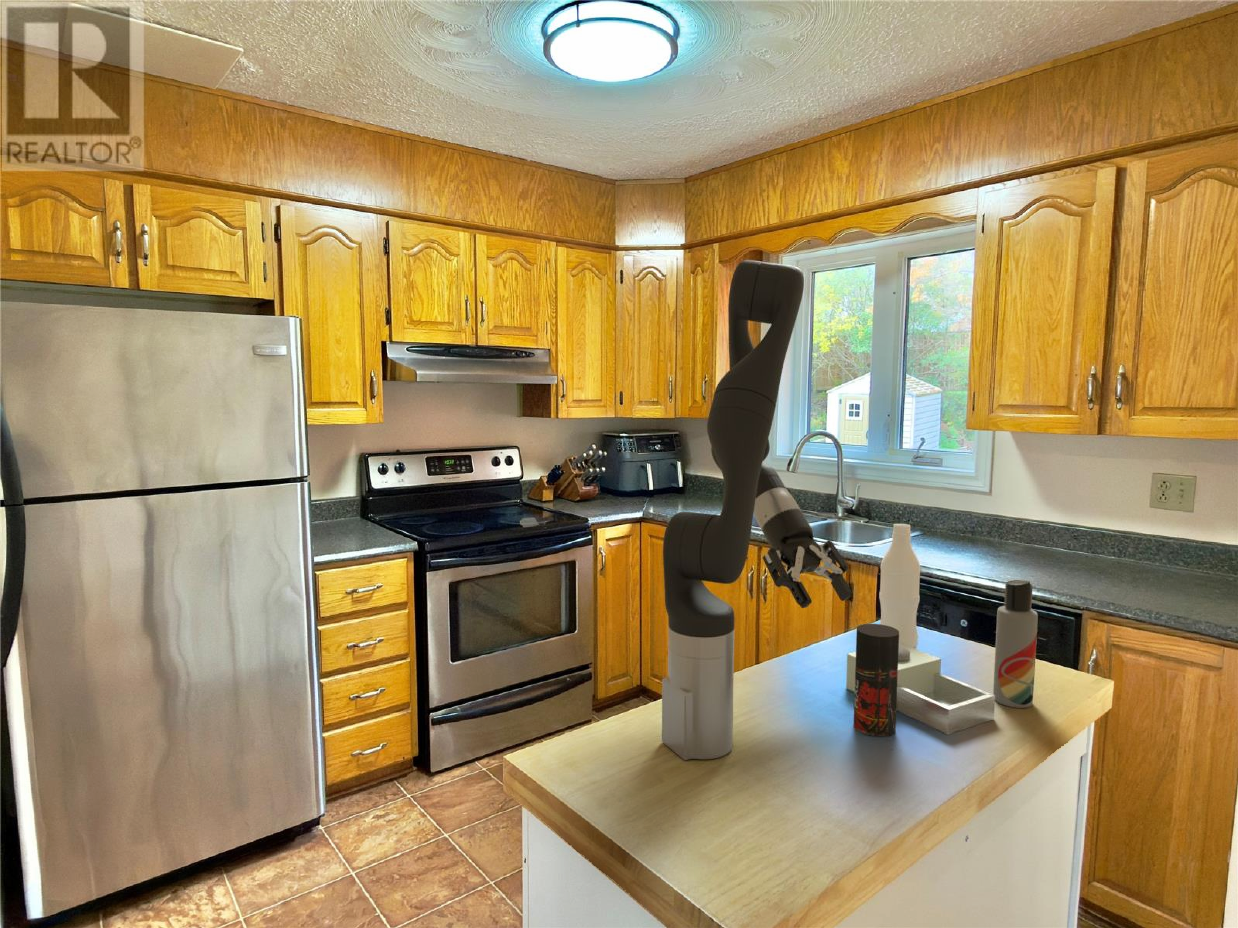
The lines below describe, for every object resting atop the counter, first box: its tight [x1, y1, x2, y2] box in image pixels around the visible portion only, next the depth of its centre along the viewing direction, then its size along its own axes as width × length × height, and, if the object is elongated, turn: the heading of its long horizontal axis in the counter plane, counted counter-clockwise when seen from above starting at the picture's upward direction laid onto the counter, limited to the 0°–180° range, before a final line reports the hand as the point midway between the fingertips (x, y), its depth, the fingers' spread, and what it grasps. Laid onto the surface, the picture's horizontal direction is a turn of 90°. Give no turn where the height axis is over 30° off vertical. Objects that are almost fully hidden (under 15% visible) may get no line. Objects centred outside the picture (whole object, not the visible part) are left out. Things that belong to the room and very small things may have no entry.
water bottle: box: [878, 523, 922, 650], centre depth 136 cm, size 7×7×25 cm
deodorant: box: [853, 623, 899, 738], centre depth 106 cm, size 6×6×15 cm
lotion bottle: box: [992, 579, 1039, 709], centre depth 115 cm, size 6×6×20 cm
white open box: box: [896, 673, 996, 735], centre depth 111 cm, size 11×10×4 cm
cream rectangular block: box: [845, 643, 942, 694], centre depth 120 cm, size 12×9×7 cm
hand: (827, 601), depth 114 cm, fingers open, 8 cm apart
